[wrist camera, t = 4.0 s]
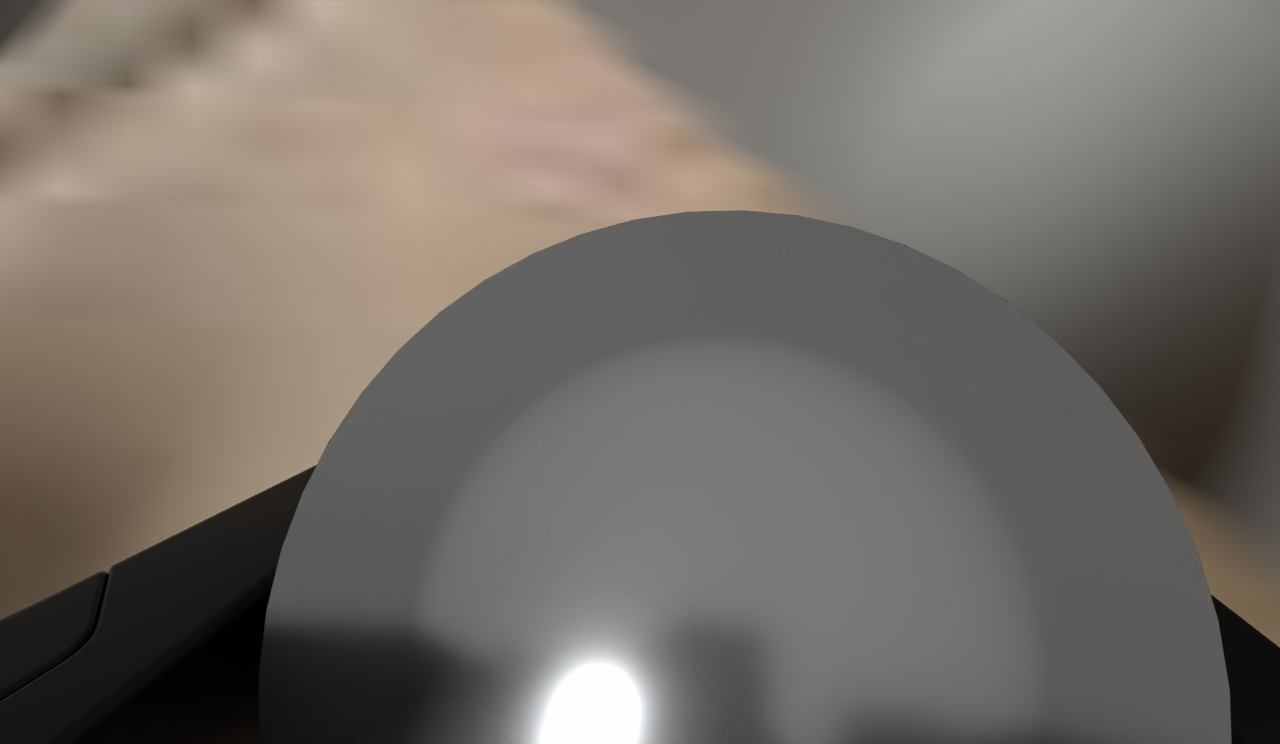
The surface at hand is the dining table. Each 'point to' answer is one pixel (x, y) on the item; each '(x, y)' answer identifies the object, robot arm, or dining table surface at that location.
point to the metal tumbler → (737, 516)
